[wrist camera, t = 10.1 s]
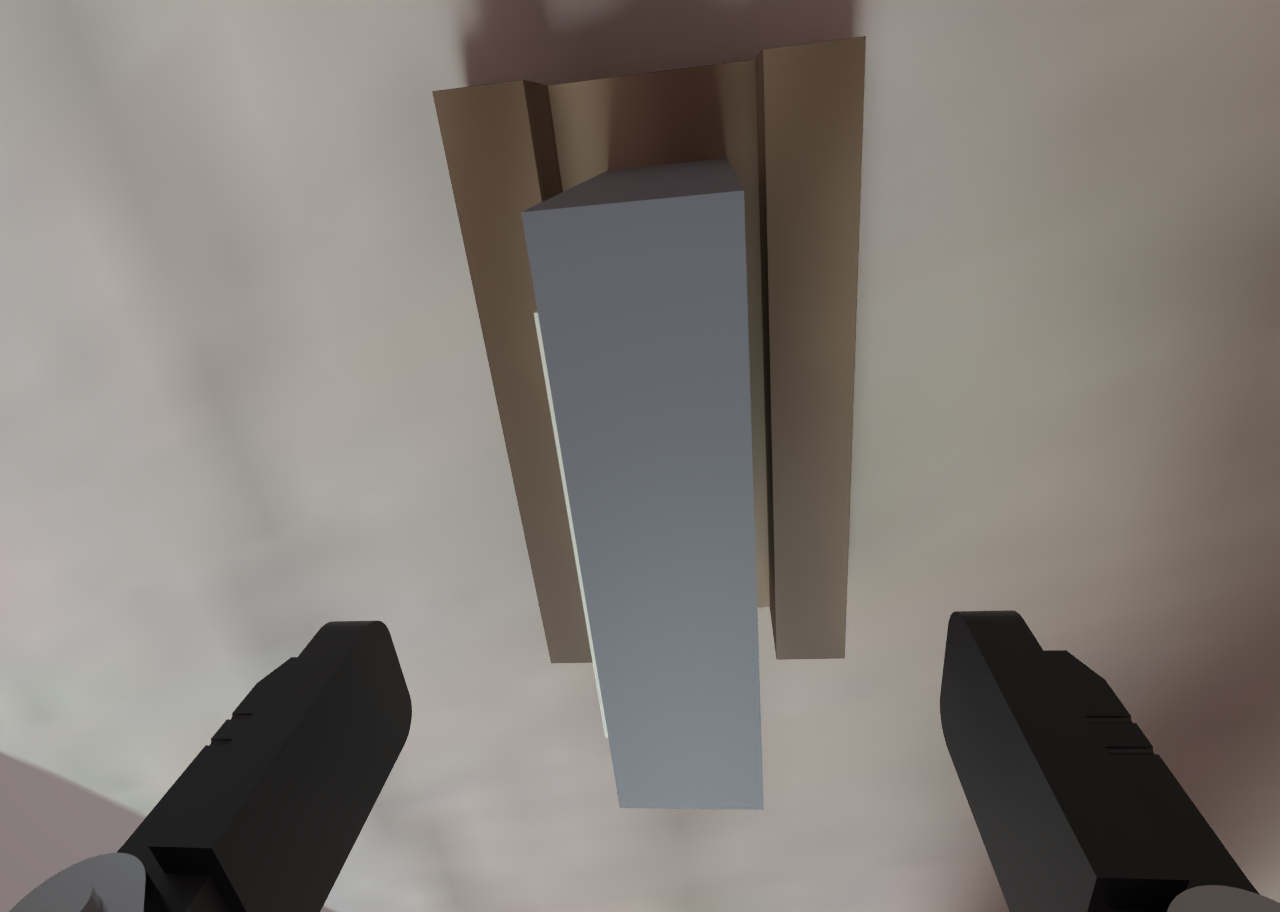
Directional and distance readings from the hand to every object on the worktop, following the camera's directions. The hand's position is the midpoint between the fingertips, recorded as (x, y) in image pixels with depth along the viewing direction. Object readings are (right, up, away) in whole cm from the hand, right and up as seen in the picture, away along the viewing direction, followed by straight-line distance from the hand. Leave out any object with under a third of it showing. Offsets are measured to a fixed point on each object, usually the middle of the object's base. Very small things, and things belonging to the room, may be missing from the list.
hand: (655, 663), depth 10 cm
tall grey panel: (+1, +5, +10) cm, 11 cm away
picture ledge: (+1, +6, +11) cm, 13 cm away
